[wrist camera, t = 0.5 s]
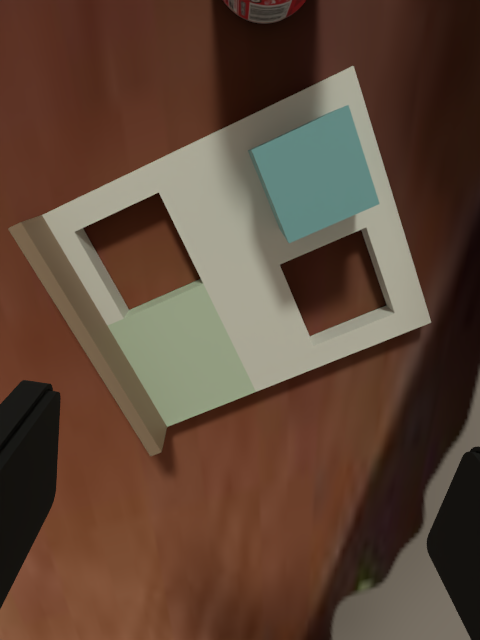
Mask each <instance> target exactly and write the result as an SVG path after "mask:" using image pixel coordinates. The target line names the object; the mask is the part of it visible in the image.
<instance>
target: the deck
mask: <svg viewBox="0 0 480 640" xmlns="http://www.w3.org/2000/svg"><path fill="white" fill-rule="evenodd" d="M347 105H349V108H350V111H351V115H352V118H353V121H354V124H355V127H356V130H357V134H358V137H359V140H360V143H361V146H362V149H363V153H364V156H365V159H366V162H367V165H368V168H369V172H370V175H371V178H372V181H373V184H374V187H375V191H376V194H377V197H378V200H379V203H380V204H378V205H376V206H374V207H372V208H369V209H367V210H365V211H362V212H360V213H358V214H356V215H353V216H351V217H349V218H346V219H344V220H342V221H339V222H337V223H335V224H333V225H330V226H328V227H326V228H323V229H321V230H319V231H317V232H314V233H312V234H310V235H307V236H305V237H303V238H300V239H298V240H296V241H294V242H291V243H288V241H287V240H286V238H285V237H284V235H283V234H282V232H281V231H280V229H279V227H278V224H277V222H276V219H275V217H274V214H273V212H272V209H271V207H270V204H269V202H268V199H267V197H266V194H265V192H264V189H263V187H262V184H261V182H260V180H259V177H258V175H257V172H256V170H255V167H254V165H253V162H252V160H251V157H250V155H249V152H248V150H250V149H252V148H254V147H257V146H259V145H261V144H263V143H265V142H267V141H269V140H271V139H274V138H276V137H278V136H280V135H282V134H284V133H286V132H289V131H291V130H293V129H295V128H297V127H299V126H301V125H303V124H306V123H308V122H310V121H312V120H314V119H316V118H318V117H320V116H323V115H325V114H327V113H329V112H332V111H334V110H337V109H339V108H342V107H344V106H347ZM156 193H159V194H160V196H161V198H162V200H163V202H164V204H165V206H166V208H167V210H168V212H169V214H170V216H171V219H172V221H173V223H174V225H175V227H176V229H177V231H178V233H179V235H180V237H181V239H182V241H183V243H184V245H185V247H186V249H187V251H188V253H189V255H190V257H191V260H192V262H193V264H194V266H195V268H196V270H197V272H198V274H199V276H200V278H201V279H199V280H197V281H195V282H193V283H190V284H188V285H186V286H183V287H181V288H179V289H176V290H174V291H172V292H170V293H167V294H165V295H163V296H160V297H158V298H156V299H154V300H151V301H149V302H147V303H144V304H142V305H140V306H138V307H135V308H133V309H131V310H129V309H128V307H127V305H126V304H125V302H124V300H123V298H122V297H121V295H120V293H119V291H118V289H117V288H116V286H115V284H114V282H113V281H112V279H111V277H110V275H109V273H108V272H107V270H106V268H105V266H104V265H103V263H102V261H101V259H100V258H99V256H98V254H97V252H96V250H95V249H94V247H93V245H92V243H91V242H90V240H89V238H88V236H87V234H86V233H85V231H84V229H83V228H84V227H86V226H88V225H90V224H92V223H95V222H97V221H99V220H101V219H103V218H105V217H107V216H110V215H112V214H114V213H116V212H118V211H120V210H122V209H124V208H127V207H129V206H131V205H133V204H135V203H137V202H139V201H141V200H144V199H146V198H148V197H150V196H152V195H154V194H156ZM8 229H9V231H10V233H11V234H12V236H13V237H14V239H15V241H16V242H17V244H18V245H19V247H20V249H21V250H22V252H23V253H24V255H25V257H26V258H27V260H28V261H29V263H30V265H31V266H32V268H33V269H34V271H35V273H36V274H37V276H38V277H39V279H40V281H41V282H42V284H43V285H44V287H45V289H46V290H47V292H48V293H49V295H50V297H51V298H52V300H53V301H54V303H55V305H56V306H57V308H58V309H59V311H60V313H61V314H62V316H63V317H64V319H65V321H66V322H67V324H68V325H69V327H70V328H71V330H72V332H73V333H74V335H75V336H76V338H77V340H78V341H79V343H80V344H81V346H82V348H83V349H84V351H85V352H86V354H87V356H88V357H89V359H90V360H91V362H92V364H93V365H94V367H95V368H96V370H97V372H98V373H99V375H100V376H101V378H102V380H103V381H104V383H105V384H106V386H107V388H108V389H109V391H110V392H111V394H112V396H113V397H114V399H115V400H116V402H117V404H118V405H119V407H120V408H121V410H122V412H123V413H124V415H125V416H126V418H127V420H128V421H129V423H130V424H131V426H132V428H133V429H134V431H135V432H136V434H137V436H138V437H139V439H140V440H141V442H142V444H143V445H144V447H145V448H146V450H147V452H148V453H149V455H150V456H153V455H156V454H158V453H161V452H162V448H163V444H164V439H165V435H166V430H167V427H168V426H171V425H174V424H176V423H179V422H181V421H184V420H186V419H189V418H191V417H194V416H196V415H199V414H201V413H204V412H206V411H209V410H211V409H214V408H216V407H219V406H222V405H224V404H227V403H229V402H232V401H234V400H237V399H239V398H242V397H244V396H247V395H249V394H252V393H254V392H257V391H259V390H262V389H265V388H267V387H270V386H272V385H275V384H277V383H280V382H282V381H285V380H287V379H290V378H292V377H295V376H297V375H300V374H302V373H305V372H308V371H310V370H313V369H315V368H318V367H320V366H323V365H325V364H328V363H330V362H333V361H335V360H338V359H340V358H343V357H345V356H348V355H350V354H353V353H356V352H358V351H361V350H363V349H366V348H368V347H371V346H373V345H376V344H378V343H381V342H383V341H386V340H388V339H391V338H393V337H396V336H399V335H401V334H404V333H406V332H409V331H411V330H414V329H416V328H419V327H421V326H424V325H426V324H429V323H431V320H430V317H429V313H428V310H427V307H426V303H425V300H424V297H423V293H422V290H421V287H420V284H419V280H418V277H417V274H416V270H415V267H414V264H413V260H412V257H411V254H410V251H409V247H408V244H407V241H406V237H405V234H404V231H403V228H402V224H401V221H400V218H399V214H398V211H397V208H396V204H395V201H394V198H393V195H392V191H391V188H390V185H389V181H388V178H387V175H386V171H385V168H384V165H383V162H382V158H381V155H380V152H379V148H378V145H377V142H376V139H375V135H374V132H373V129H372V125H371V122H370V119H369V115H368V112H367V109H366V106H365V102H364V99H363V96H362V92H361V89H360V86H359V82H358V79H357V76H356V73H355V69H354V66H352V67H350V68H348V69H346V70H344V71H342V72H340V73H338V74H335V75H333V76H331V77H329V78H327V79H325V80H323V81H321V82H319V83H317V84H315V85H312V86H310V87H308V88H306V89H304V90H302V91H300V92H298V93H296V94H294V95H292V96H290V97H287V98H285V99H283V100H281V101H279V102H277V103H275V104H273V105H271V106H269V107H267V108H265V109H262V110H260V111H258V112H256V113H254V114H252V115H250V116H248V117H246V118H244V119H242V120H239V121H237V122H235V123H233V124H231V125H229V126H227V127H225V128H223V129H221V130H219V131H217V132H214V133H212V134H210V135H208V136H206V137H204V138H202V139H200V140H198V141H196V142H194V143H192V144H189V145H187V146H185V147H183V148H181V149H179V150H177V151H175V152H173V153H171V154H169V155H167V156H164V157H162V158H160V159H158V160H156V161H154V162H152V163H150V164H148V165H146V166H144V167H141V168H139V169H137V170H135V171H133V172H131V173H129V174H127V175H125V176H123V177H121V178H119V179H116V180H114V181H112V182H110V183H108V184H106V185H104V186H102V187H100V188H98V189H96V190H94V191H91V192H89V193H87V194H85V195H83V196H81V197H79V198H77V199H75V200H73V201H71V202H69V203H66V204H64V205H62V206H60V207H58V208H56V209H54V210H52V211H50V212H48V213H46V214H43V215H41V216H38V217H35V218H32V219H29V220H26V221H23V222H20V223H18V224H16V225H14V226H12V227H10V228H8ZM359 230H361V231H362V234H363V237H364V240H365V243H366V246H367V249H368V252H369V255H370V258H371V261H372V264H373V267H374V269H375V272H376V275H377V278H378V281H379V284H380V287H381V290H382V293H383V296H384V299H385V302H386V306H384V307H381V308H379V309H376V310H374V311H371V312H369V313H366V314H364V315H361V316H359V317H356V318H354V319H352V320H349V321H347V322H344V323H342V324H339V325H337V326H334V327H332V328H329V329H327V330H324V331H322V332H319V333H317V334H315V335H312V336H309V334H308V331H307V329H306V327H305V324H304V322H303V319H302V317H301V315H300V312H299V310H298V307H297V305H296V303H295V300H294V298H293V295H292V293H291V291H290V288H289V286H288V283H287V281H286V279H285V276H284V274H283V271H282V269H281V267H280V264H282V263H285V262H287V261H289V260H292V259H294V258H296V257H299V256H301V255H303V254H306V253H308V252H310V251H313V250H315V249H317V248H320V247H322V246H324V245H326V244H329V243H331V242H333V241H336V240H338V239H340V238H343V237H345V236H347V235H350V234H352V233H354V232H357V231H359Z"/></svg>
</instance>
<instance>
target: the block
mask: <svg viewBox="0 0 480 640" xmlns="http://www.w3.org/2000/svg"><path fill="white" fill-rule="evenodd" d="M248 152H249V155H250V157H251V160H252V162H253V165H254V167H255V170H256V172H257V175H258V177H259V180H260V182H261V184H262V187H263V189H264V192H265V194H266V197H267V199H268V202H269V204H270V207H271V209H272V212H273V214H274V217H275V219H276V222H277V224H278V227H279V229H280V231H281V232H282V234H283V235H284V237H285V238H286V240H287V241H288V243H291V242H294V241H296V240H298V239H300V238H303V237H305V236H307V235H310V234H312V233H314V232H317V231H319V230H321V229H323V228H326V227H328V226H330V225H333V224H335V223H337V222H339V221H342V220H344V219H346V218H349V217H351V216H353V215H356V214H358V213H360V212H362V211H365V210H367V209H369V208H372V207H374V206H376V205H378V204H380V203H379V200H378V197H377V194H376V191H375V187H374V184H373V181H372V178H371V175H370V172H369V168H368V165H367V162H366V159H365V156H364V153H363V149H362V146H361V143H360V140H359V137H358V134H357V130H356V127H355V124H354V121H353V118H352V115H351V111H350V108H349V105H347V106H344V107H342V108H339V109H337V110H334V111H332V112H329V113H327V114H325V115H323V116H320V117H318V118H316V119H314V120H312V121H310V122H308V123H306V124H303V125H301V126H299V127H297V128H295V129H293V130H291V131H289V132H286V133H284V134H282V135H280V136H278V137H276V138H274V139H271V140H269V141H267V142H265V143H263V144H261V145H259V146H257V147H254V148H252V149H250V150H248Z"/></svg>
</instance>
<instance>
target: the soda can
mask: <svg viewBox="0 0 480 640" xmlns="http://www.w3.org/2000/svg"><path fill="white" fill-rule="evenodd" d="M305 1H306V0H223V2H224V3H225V4H226V5H227V6H228V7H229V8H230V9H231V10H232V11H233V12H234V13H235V14H236V15H238V16H239V17H241V18H243V19H245V20H247V21H250V22H254V23H260V24H267V23H274V22H278V21H281V20H283V19H285V18H287V17H289V16H291V15H292V14H293V13H295V12H296V11H297V10H298V9H299V8H300V7H301V6H302V5H303V4H304V3H305Z"/></svg>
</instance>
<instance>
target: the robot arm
mask: <svg viewBox="0 0 480 640" xmlns="http://www.w3.org/2000/svg"><path fill="white" fill-rule="evenodd" d="M59 416H60V393H59V392H55V391H53V388H52V385H51V384H47V383H40V382H34V381H27V380H23V381H22V382H20V383H19V385H18V386H17V387H16V388H15V389H14V390H13V391H12V392H11V393H10V394H9V396H8V397H7V398H6V399H5V400H4V401H3V402H2V403H1V404H0V608H1V606H2V604H3V602H4V600H5V598H6V596H7V594H8V592H9V590H10V588H11V586H12V585H13V583H14V581H15V579H16V577H17V575H18V573H19V571H20V569H21V567H22V565H23V563H24V561H25V559H26V557H27V555H28V553H29V551H30V549H31V547H32V545H33V543H34V541H35V539H36V537H37V535H38V533H39V531H40V529H41V527H42V525H43V523H44V521H45V519H46V517H47V515H48V513H49V511H50V509H51V506H52V504H53V501H54V497H55V492H56V478H57V457H58V437H59ZM427 550H428V553H429V556H430V558H431V559H432V561H433V563H434V566H435V567H436V570H437V572H438V574H439V576H440V578H441V580H442V582H443V584H444V586H445V587H446V590H447V592H448V594H449V595H450V598H451V599H452V602H453V604H454V606H455V608H456V610H457V612H458V614H459V616H460V618H461V620H462V622H463V624H464V626H465V628H466V630H467V632H468V634H469V636H470V638H471V640H480V447H474V448H473V449H471V450H470V452H466V453H465V454H464V455H463V457H462V459H461V461H460V464H459V466H458V468H457V471H456V473H455V475H454V477H453V480H452V482H451V485H450V487H449V489H448V491H447V494H446V496H445V498H444V500H443V503H442V505H441V507H440V510H439V512H438V514H437V517H436V519H435V521H434V523H433V526H432V528H431V530H430V533H429V535H428V538H427Z"/></svg>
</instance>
